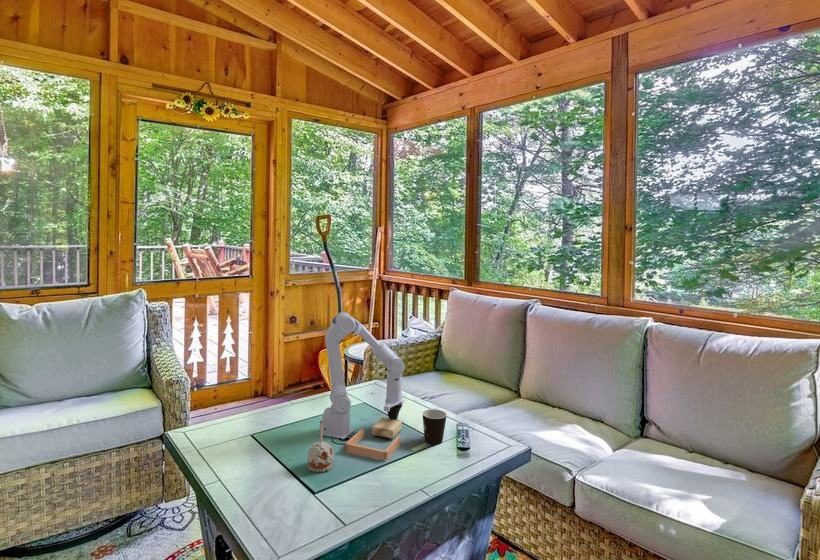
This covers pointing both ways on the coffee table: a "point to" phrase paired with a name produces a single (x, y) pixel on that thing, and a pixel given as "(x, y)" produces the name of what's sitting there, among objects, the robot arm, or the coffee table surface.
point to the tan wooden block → (387, 428)
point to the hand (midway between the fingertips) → (393, 423)
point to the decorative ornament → (320, 455)
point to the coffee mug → (434, 426)
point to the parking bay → (370, 452)
